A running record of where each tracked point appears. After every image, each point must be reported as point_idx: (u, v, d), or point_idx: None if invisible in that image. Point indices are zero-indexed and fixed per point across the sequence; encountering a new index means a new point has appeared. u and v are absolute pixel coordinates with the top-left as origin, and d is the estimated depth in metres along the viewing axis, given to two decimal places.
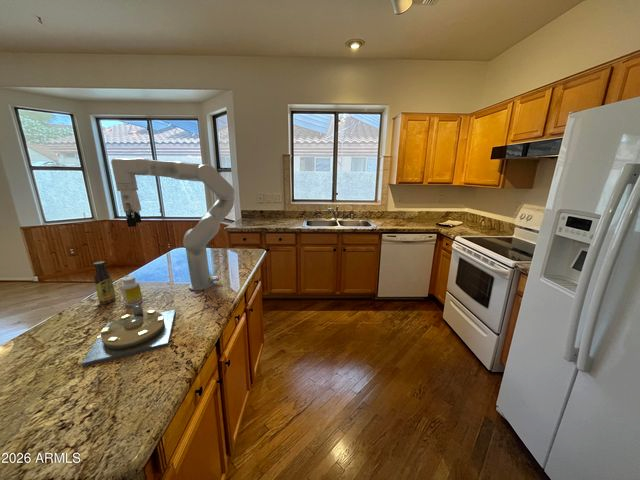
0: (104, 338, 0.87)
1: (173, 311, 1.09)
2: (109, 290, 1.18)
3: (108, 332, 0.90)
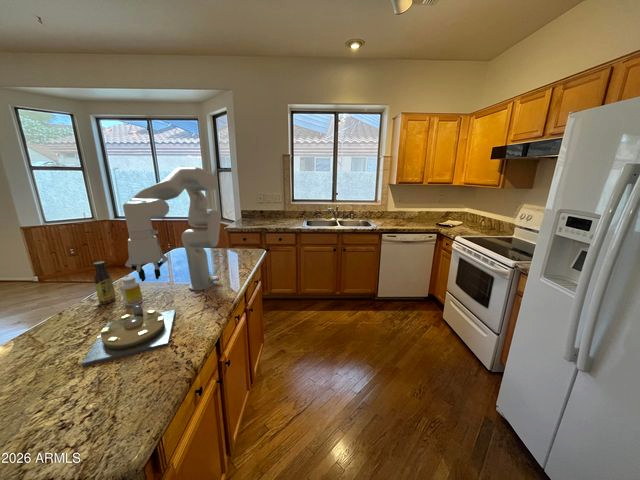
0: (104, 338, 0.87)
1: (173, 311, 1.09)
2: (109, 290, 1.18)
3: (108, 332, 0.90)
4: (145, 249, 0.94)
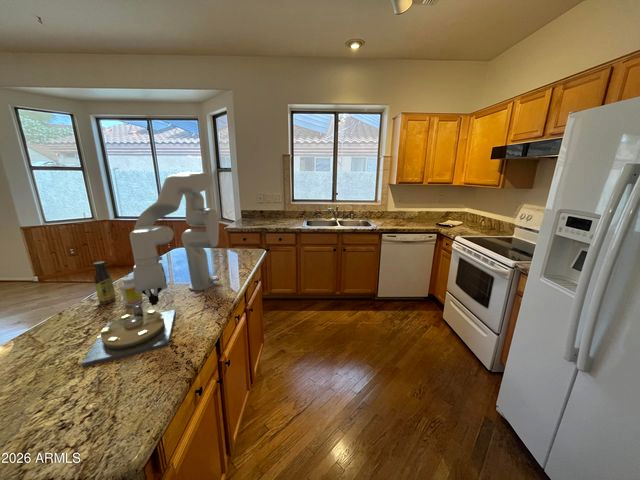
0: (104, 338, 0.87)
1: (173, 311, 1.09)
2: (109, 290, 1.18)
3: (108, 332, 0.90)
4: (150, 275, 0.97)
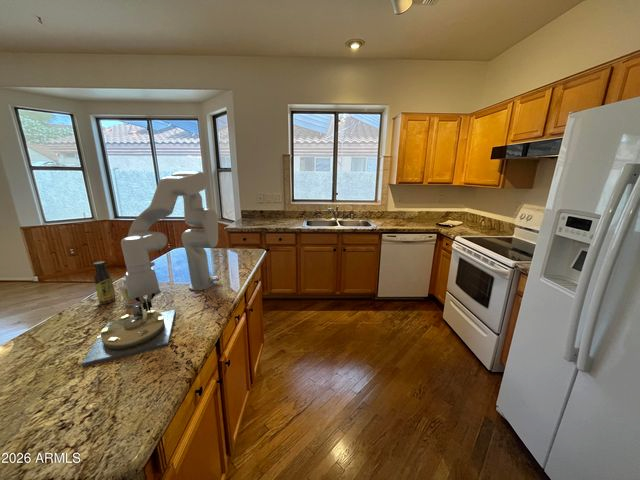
0: (104, 338, 0.87)
1: (173, 311, 1.09)
2: (109, 290, 1.18)
3: (108, 332, 0.90)
4: (144, 281, 0.97)
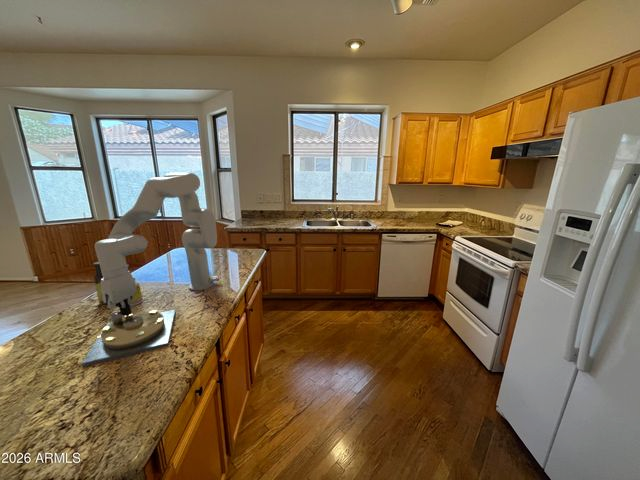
0: (125, 339, 0.86)
1: (173, 311, 1.09)
2: None
3: (117, 338, 0.87)
4: (125, 283, 0.95)
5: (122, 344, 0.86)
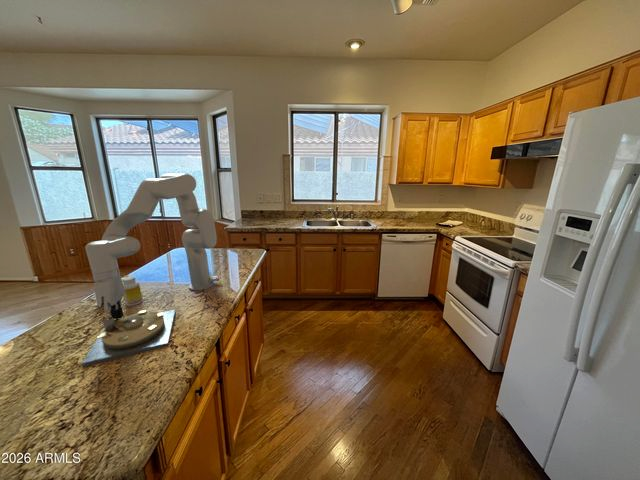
0: (141, 335, 0.88)
1: (173, 311, 1.09)
2: None
3: (129, 336, 0.88)
4: (118, 285, 0.95)
5: (139, 340, 0.88)
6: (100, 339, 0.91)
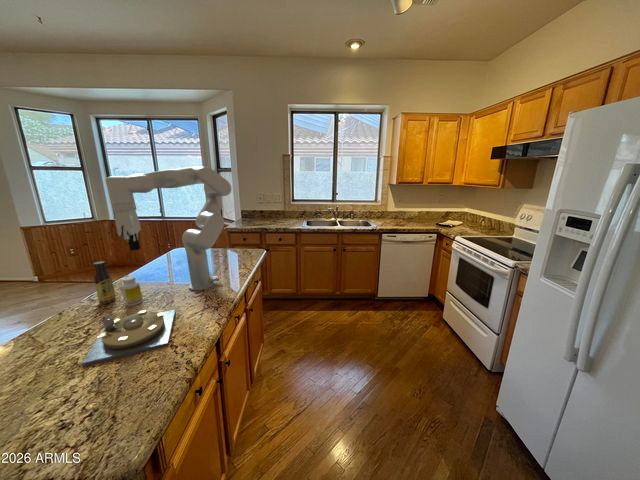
0: (141, 335, 0.88)
1: (173, 311, 1.09)
2: (109, 290, 1.18)
3: (129, 336, 0.88)
4: (135, 218, 1.05)
5: (139, 340, 0.88)
6: (100, 339, 0.91)
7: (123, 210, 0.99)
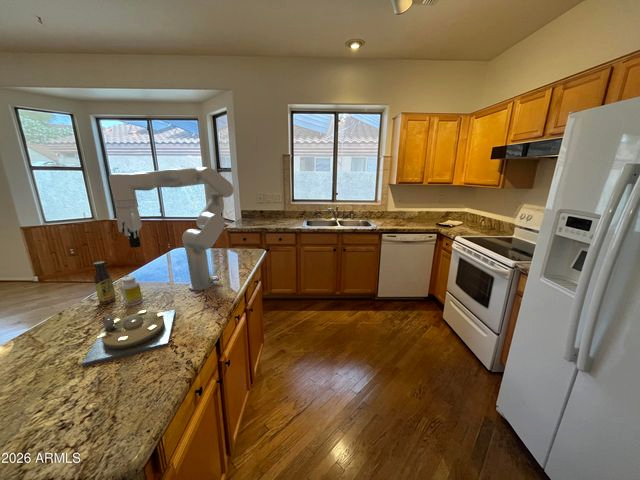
0: (141, 335, 0.88)
1: (173, 311, 1.09)
2: (109, 290, 1.18)
3: (129, 336, 0.88)
4: (136, 216, 1.05)
5: (139, 340, 0.88)
6: (100, 339, 0.91)
7: (125, 207, 1.00)
